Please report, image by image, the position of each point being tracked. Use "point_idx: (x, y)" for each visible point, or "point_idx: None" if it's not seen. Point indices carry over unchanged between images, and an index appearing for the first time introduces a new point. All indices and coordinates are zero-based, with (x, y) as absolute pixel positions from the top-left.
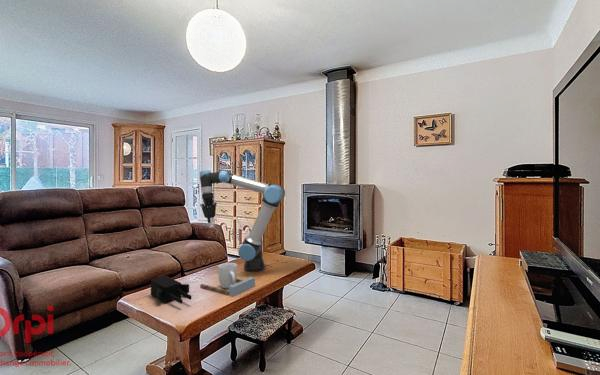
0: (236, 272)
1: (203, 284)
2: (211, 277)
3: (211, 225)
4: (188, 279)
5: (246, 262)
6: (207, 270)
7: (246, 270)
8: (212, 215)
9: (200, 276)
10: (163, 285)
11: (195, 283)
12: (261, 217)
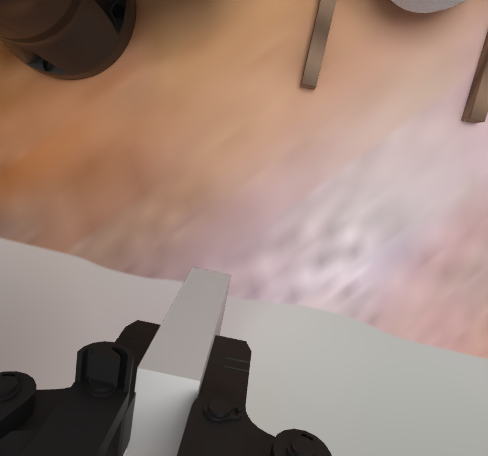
0: None
1: (476, 105)
2: (300, 175)
3: (226, 289)
4: (366, 281)
5: (97, 21)
6: None
7: (132, 28)
8: (89, 412)
9: (303, 249)
10: None
11: (414, 199)
12: None
